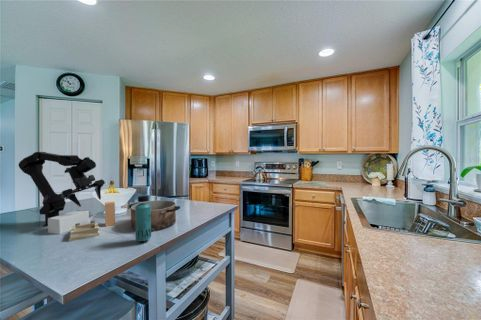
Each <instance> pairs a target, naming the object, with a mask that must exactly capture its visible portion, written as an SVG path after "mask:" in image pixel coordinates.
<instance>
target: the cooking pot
mask: <svg viewBox="0 0 481 320" xmlns="http://www.w3.org/2000/svg"><path fill="white" fill-rule="evenodd" d="M140 203H148V204H150V205H151V229H152V232H158V231H162V230H166V229H168V228H170V227H171V228H172V226H175V224H176V219H177V218H176V216H177V215H176V214H177V213H176V212H177V211H178V210H180V209H181V206H180V205H177V203H176V201H173V200H169V199H166V200H165V199H162V200H161V199H158V200H155V199H154V200H148V201H146V202H138V201H137V202H135V203H131V204H129V205H128V208H130V220H131V221H130V227H131V230H133V231H135V230H136V229H135V227H136V214H135V207H136V206H137V205H138V204H140ZM176 205H177V206H176Z"/></svg>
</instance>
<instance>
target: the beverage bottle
mask: <svg viewBox="0 0 481 320" xmlns="http://www.w3.org/2000/svg"><path fill="white" fill-rule="evenodd" d="M146 201H149V196H148V195H139V196H137V203H138V202H140V204H138V205H137V206H136V207H135V214H136V227H135V229H136V230H134V232H135V240H136V241H137V242H144V241H148V240H150V239H151V237H152V232H153V231H152V229H151V205H150V204H148V203H141V202H146Z"/></svg>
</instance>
